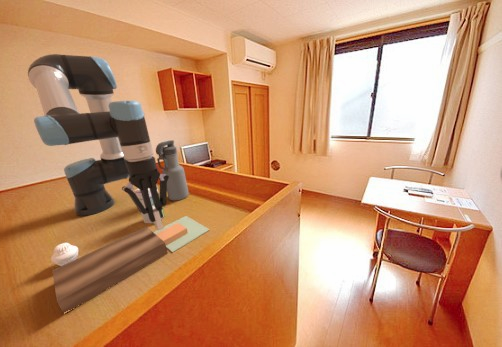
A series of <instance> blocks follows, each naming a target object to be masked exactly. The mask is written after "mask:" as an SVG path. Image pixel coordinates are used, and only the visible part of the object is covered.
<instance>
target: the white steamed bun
mask: <svg viewBox="0 0 502 347" xmlns="http://www.w3.org/2000/svg"><path fill="white" fill-rule="evenodd" d="M78 256H79V248H78V246H76V245H72V244H70V243H69V242H63V243H59V244H57V245H56V246H55V247H54V249H53V254H52V255H51V257H50V261H51V263H53V264H55V265H57V266H59V267H61V266H63V265H65V264H67V263H69V262H71V261H74V260H76V259H78Z"/></svg>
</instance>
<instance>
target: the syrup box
mask: <svg viewBox="0 0 502 347" xmlns="http://www.w3.org/2000/svg"><path fill="white" fill-rule="evenodd" d="M156 186H157V192H158V196H159V199H160V191H159V190H158V185H157V184H156ZM148 191H149V192H148V193H149V197H150V201H151V204H152V208H153V209H156V208H155V206H154V203H153V199H152V195H151V192H150V189H149V188H148ZM133 192H134V193H135V194H136V196H137V197H138V199H139V200H140V202H141V203H142V205H143V206H144V208H146V207H145V204H144V201H143V197H142V194H141V191H140V189H139V188H137V189H135V190H133ZM162 208H163V209H162V213H163V218H165V217H166V214H165V210H164V206H163V207H162ZM140 213H141V212H140ZM141 216H142V219H143V220H142V221H143V223H145V224H154V222H151V221H150V219H149V216H148V213H146V214H143V213H141ZM163 218H161V220H162V219H163Z"/></svg>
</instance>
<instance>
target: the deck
mask: <svg viewBox="0 0 502 347" xmlns="http://www.w3.org/2000/svg"><path fill="white" fill-rule="evenodd" d="M153 232H154V231H153V230H151V229H150V228H149V227H148V226H145V227H142V228H140V229H139V230H137V231H133V232H132V233H130V234H128V235H125V236H124V237H121V238H119V239H116V240H115V241H112V242H111V243H109V244H108V243H107V244H106V245H104V246H102V247H100V248H97V249H96V250H93V251H91V252H89V253H87V254H85V255H83V256H81V257H77V259H76V260H74V261H71V262H69V263H67V264H65V265H63V266H59V267H57V268H54V269H52V272H51V273H52V277H53V285H54V291H55V296H56V297H55V298H56V302H57V304H58V306H59V308H60V310H61V312H62V313H64V312H66V311H68V310H71V309H73V308H75V307H77V306H78V305H80V304H82V303H83V304H85V303H87V302H88V300H89V301H90V300H92V299H93V297H94V298H95V297H97V296H98V294H99V295H101V294H102V293H103V291H104V290H105V291H107V290H108V289H107V288H109V287H110V288H112V287H113V285H114V286H116V285H117V284H118V282H119V283H120V282H122V281H123V280H125V279H127V278H128V277H131V276H132V275H134V274H136V273H137V272H139V271H140V270H142V269H144V268H145V267H147V266H149V265H150V264H152V263H154V262H156V261H157V260H159V259H160V258H162V257H164V256H166V255H167V254H169V252H168V248H167V247H166V245H165V242H164V241H163V240H162V239H160V238H159V237H158V236H157V235H156V234H155V233H153ZM116 283H117V284H116ZM111 286H112V287H111ZM110 288H109V289H110ZM106 289H107V290H106ZM105 291H104V292H105ZM101 292H102V293H101ZM96 295H97V296H96ZM91 298H92V299H91ZM86 301H87V302H86ZM84 302H85V303H84ZM83 304H82V305H83ZM80 306H81V305H80ZM78 307H79V306H78ZM78 307H77V308H78ZM75 309H76V308H75ZM73 310H74V309H73Z"/></svg>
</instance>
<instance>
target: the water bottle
mask: <svg viewBox="0 0 502 347" xmlns="http://www.w3.org/2000/svg"><path fill="white" fill-rule="evenodd" d="M155 153H156V155H157V156H158V158H157V159H156V162H157V164H158V167H159V169H161V170H162V171H161V172H162V173H161V174H165V175H167V176H169V178H168V181H167V198H168V199H169V200H171V201H175V202H176V201H181V200H184V199H186V198H187V197H188V196H189V187H188V182H187V179H186V172H185V168H184V167H183V166H182V165H180V161H179V157H178V150H177V147H176V146H175V140H167V141H166V140H164V141H162V142H160V143H158V144H157V145H156V147H155ZM161 160H162V161H163V165H164V167H163V166H162V165H161V162H160V161H161Z"/></svg>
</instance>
